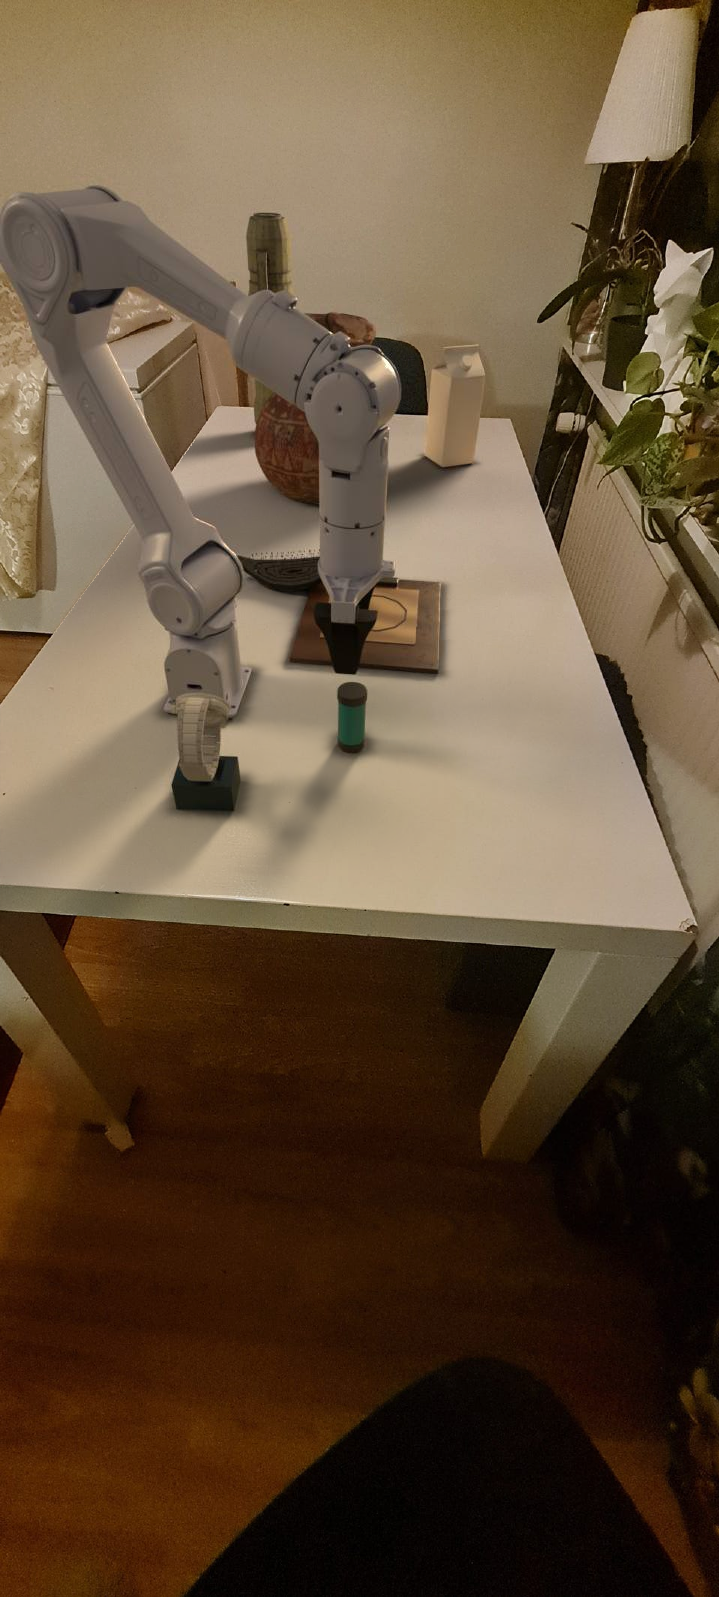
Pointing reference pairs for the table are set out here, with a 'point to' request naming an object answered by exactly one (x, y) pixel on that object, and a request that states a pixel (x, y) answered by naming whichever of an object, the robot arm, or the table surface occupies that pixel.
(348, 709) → the dot marker
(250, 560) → the hairbrush
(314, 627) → the clipboard
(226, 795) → the watch
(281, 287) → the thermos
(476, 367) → the milk carton
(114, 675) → the table surface
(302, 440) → the jug
